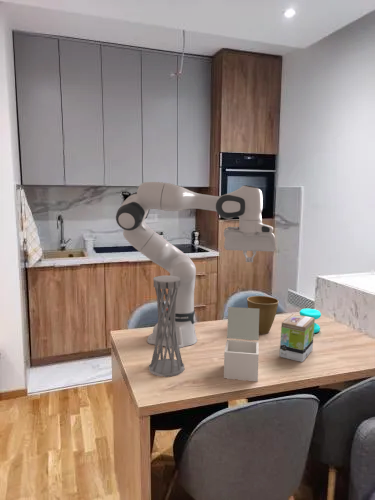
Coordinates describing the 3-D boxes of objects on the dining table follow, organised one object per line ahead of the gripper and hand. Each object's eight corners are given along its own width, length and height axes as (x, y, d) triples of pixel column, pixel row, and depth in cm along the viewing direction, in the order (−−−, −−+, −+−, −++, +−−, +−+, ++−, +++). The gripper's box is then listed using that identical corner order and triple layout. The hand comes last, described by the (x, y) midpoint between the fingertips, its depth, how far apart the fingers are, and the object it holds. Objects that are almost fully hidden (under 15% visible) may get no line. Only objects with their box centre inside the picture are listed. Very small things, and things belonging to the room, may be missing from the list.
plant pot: (259, 339, 176) (260, 305, 173) (240, 329, 188) (240, 297, 186) (284, 333, 183) (285, 301, 181) (263, 324, 196) (264, 294, 193)
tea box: (303, 362, 151) (305, 326, 149) (278, 357, 156) (280, 322, 154) (313, 350, 163) (315, 316, 161) (290, 345, 169) (291, 312, 167)
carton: (223, 378, 137) (224, 351, 136) (226, 364, 149) (226, 339, 148) (257, 381, 135) (258, 354, 134) (257, 366, 147) (258, 341, 146)
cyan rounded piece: (323, 309, 188) (318, 315, 179) (322, 329, 189) (317, 335, 181) (302, 306, 193) (297, 311, 184) (301, 325, 194) (296, 331, 186)
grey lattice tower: (149, 361, 151) (148, 274, 146) (183, 360, 152) (183, 274, 147) (148, 377, 138) (147, 282, 133) (185, 376, 139) (186, 282, 134)
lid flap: (228, 306, 150) (228, 307, 151) (226, 338, 147) (227, 338, 148) (259, 308, 148) (259, 308, 148) (258, 340, 145) (258, 340, 146)
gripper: (223, 227, 149) (222, 262, 151) (276, 228, 145) (275, 264, 147) (224, 226, 155) (224, 259, 157) (276, 227, 151) (275, 261, 153)
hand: (249, 261), depth 152 cm, fingers closed
